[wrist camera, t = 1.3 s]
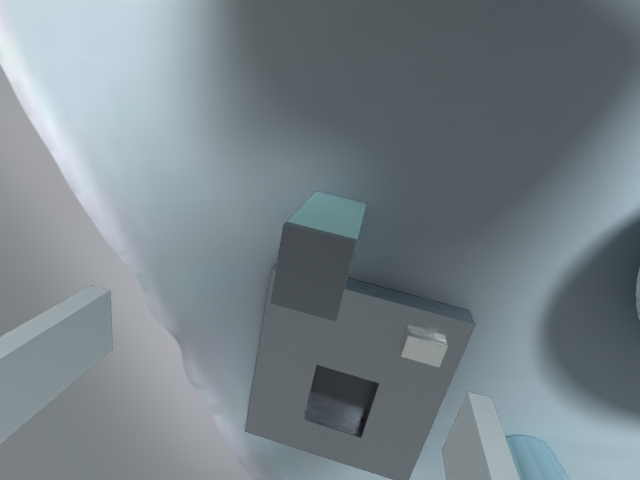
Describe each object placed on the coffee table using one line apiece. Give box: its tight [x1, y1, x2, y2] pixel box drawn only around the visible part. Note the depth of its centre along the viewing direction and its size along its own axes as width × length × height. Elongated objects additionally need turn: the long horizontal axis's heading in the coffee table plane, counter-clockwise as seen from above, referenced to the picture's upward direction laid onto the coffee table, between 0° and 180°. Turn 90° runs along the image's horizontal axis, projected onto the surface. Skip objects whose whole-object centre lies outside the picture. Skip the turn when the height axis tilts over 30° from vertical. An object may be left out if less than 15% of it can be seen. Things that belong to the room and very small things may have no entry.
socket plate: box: [245, 263, 475, 480], centre depth 31 cm, size 18×16×3 cm
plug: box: [271, 191, 367, 322], centre depth 24 cm, size 5×4×9 cm
